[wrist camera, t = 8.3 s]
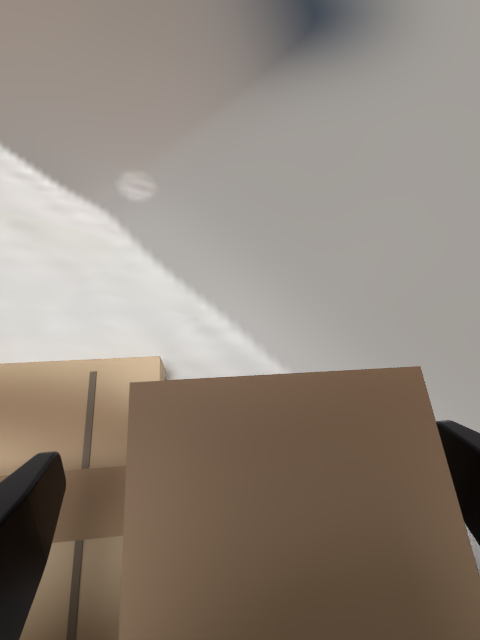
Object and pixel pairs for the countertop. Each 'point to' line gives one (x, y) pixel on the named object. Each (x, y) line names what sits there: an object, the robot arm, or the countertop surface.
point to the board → (76, 453)
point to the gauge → (283, 511)
